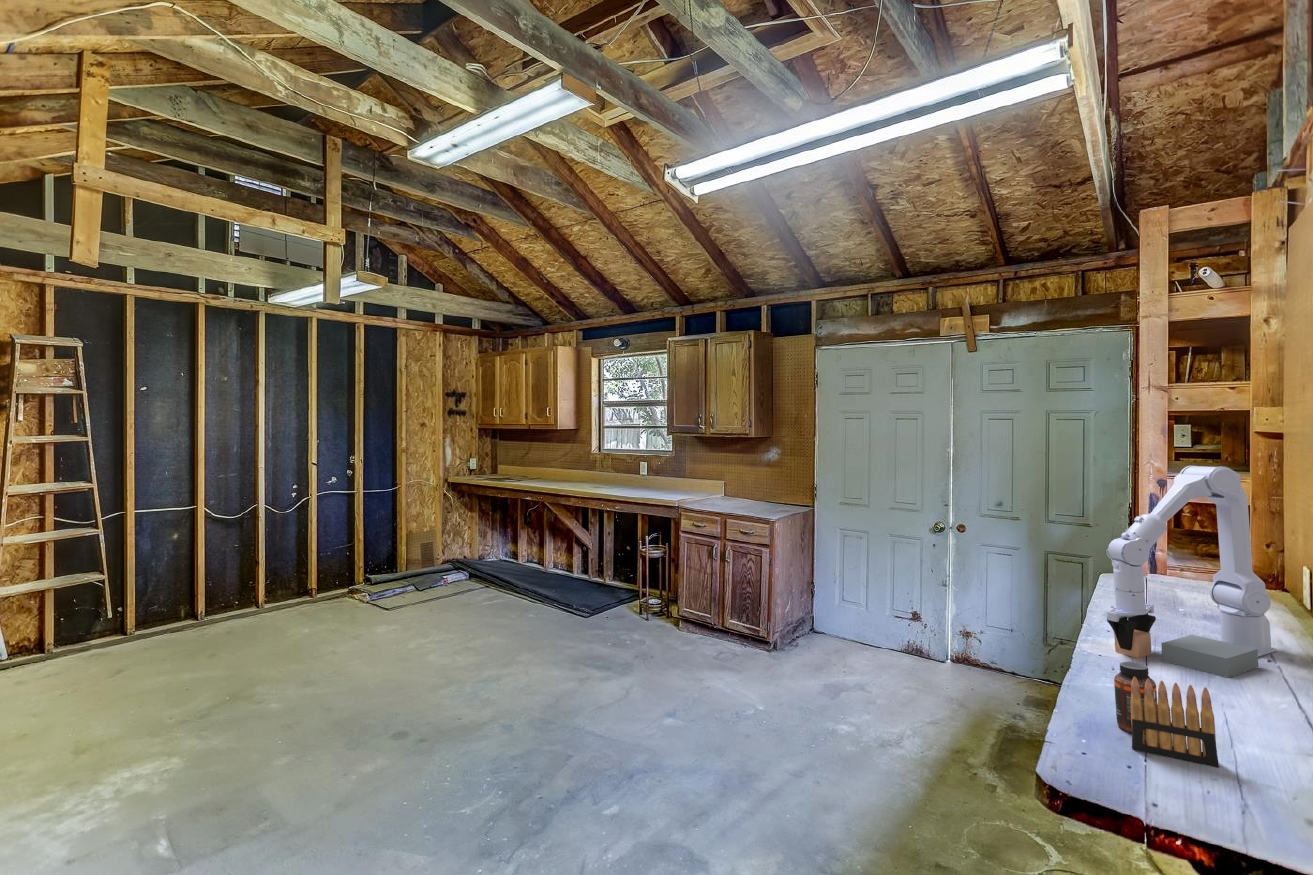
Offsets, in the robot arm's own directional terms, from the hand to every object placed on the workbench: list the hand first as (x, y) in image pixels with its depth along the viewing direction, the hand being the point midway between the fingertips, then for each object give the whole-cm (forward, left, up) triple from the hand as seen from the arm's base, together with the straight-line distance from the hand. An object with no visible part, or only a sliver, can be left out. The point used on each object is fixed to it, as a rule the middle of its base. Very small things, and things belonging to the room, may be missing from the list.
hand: (1133, 647), depth 145 cm
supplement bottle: (+40, +23, -2) cm, 46 cm away
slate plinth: (-6, +12, -1) cm, 13 cm away
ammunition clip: (+45, +31, -2) cm, 55 cm away
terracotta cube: (0, 0, -1) cm, 1 cm away
